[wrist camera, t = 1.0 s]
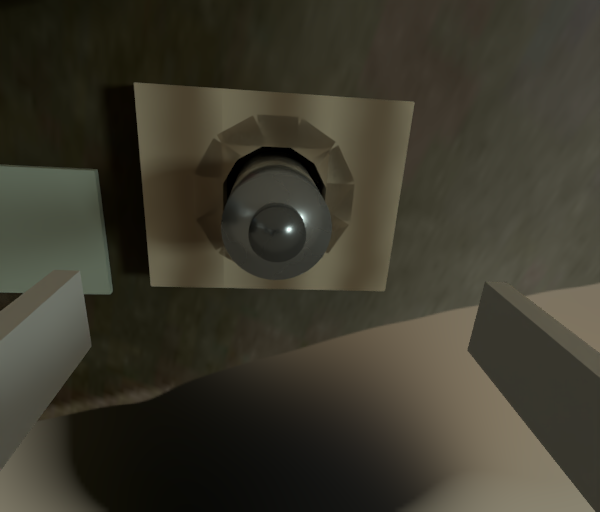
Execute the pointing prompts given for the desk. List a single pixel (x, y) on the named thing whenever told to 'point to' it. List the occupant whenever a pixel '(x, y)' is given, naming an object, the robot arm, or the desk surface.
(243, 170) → the gray knobbed peg
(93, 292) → the mat
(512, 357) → the robot arm
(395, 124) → the housing
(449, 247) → the desk surface
